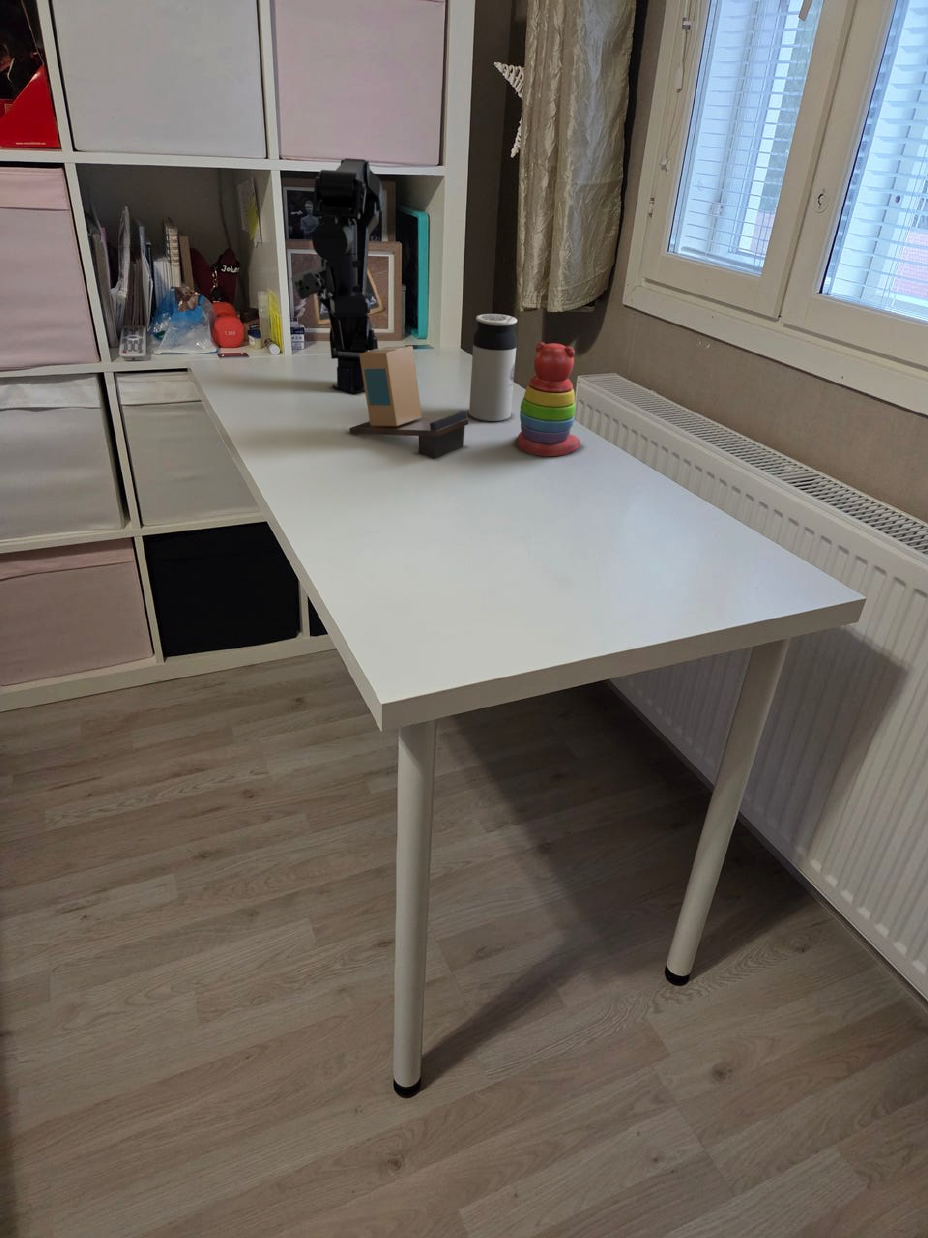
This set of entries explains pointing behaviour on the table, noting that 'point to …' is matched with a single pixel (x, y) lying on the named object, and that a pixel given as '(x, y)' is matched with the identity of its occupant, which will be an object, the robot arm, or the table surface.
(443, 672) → the table surface
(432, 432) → the ramp
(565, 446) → the stacking bear
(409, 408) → the carton
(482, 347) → the travel mug
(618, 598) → the table surface
